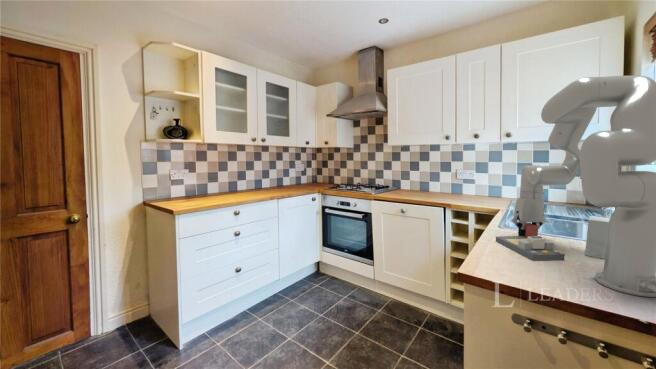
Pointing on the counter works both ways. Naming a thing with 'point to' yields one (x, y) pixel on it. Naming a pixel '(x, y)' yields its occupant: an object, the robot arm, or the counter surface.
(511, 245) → the breaker panel
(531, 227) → the red block
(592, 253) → the small box
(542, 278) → the counter surface
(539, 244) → the breaker switch
